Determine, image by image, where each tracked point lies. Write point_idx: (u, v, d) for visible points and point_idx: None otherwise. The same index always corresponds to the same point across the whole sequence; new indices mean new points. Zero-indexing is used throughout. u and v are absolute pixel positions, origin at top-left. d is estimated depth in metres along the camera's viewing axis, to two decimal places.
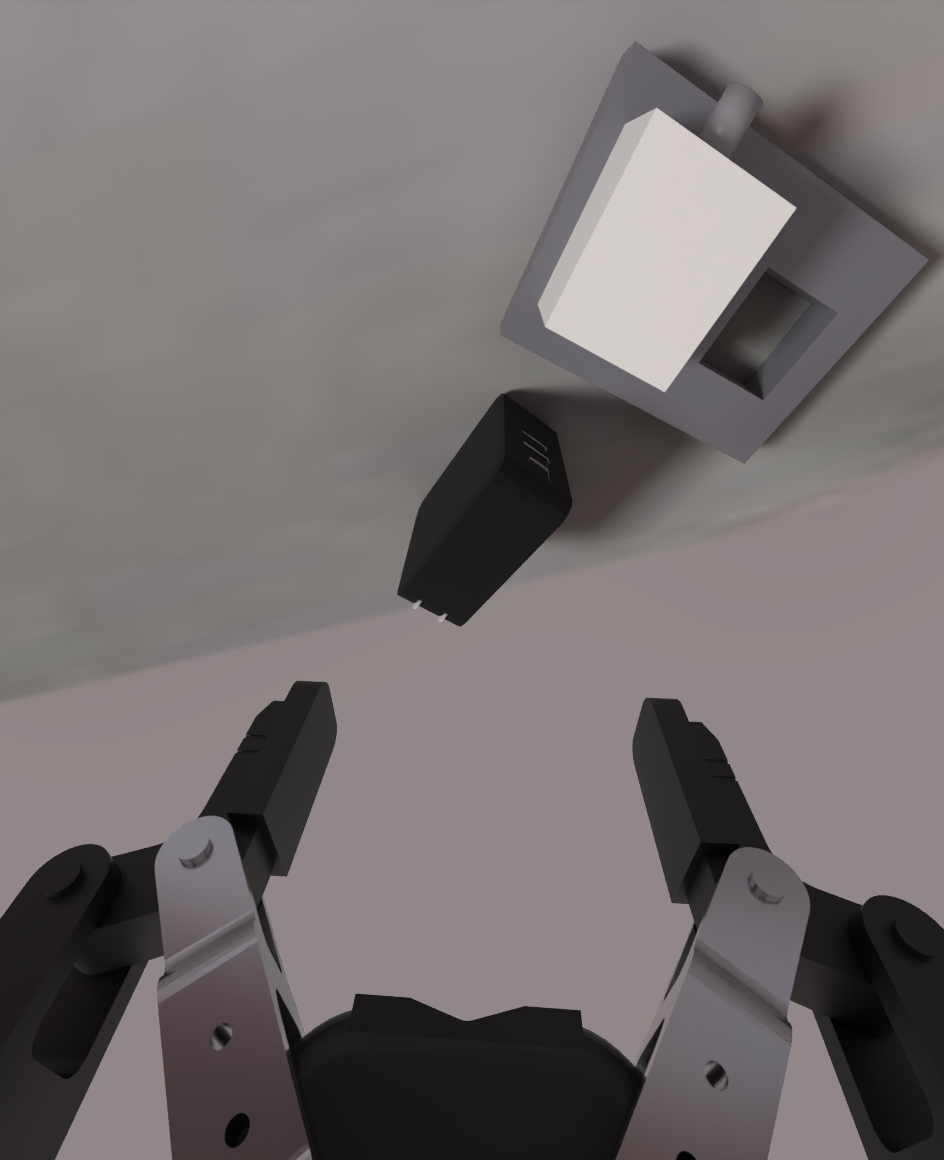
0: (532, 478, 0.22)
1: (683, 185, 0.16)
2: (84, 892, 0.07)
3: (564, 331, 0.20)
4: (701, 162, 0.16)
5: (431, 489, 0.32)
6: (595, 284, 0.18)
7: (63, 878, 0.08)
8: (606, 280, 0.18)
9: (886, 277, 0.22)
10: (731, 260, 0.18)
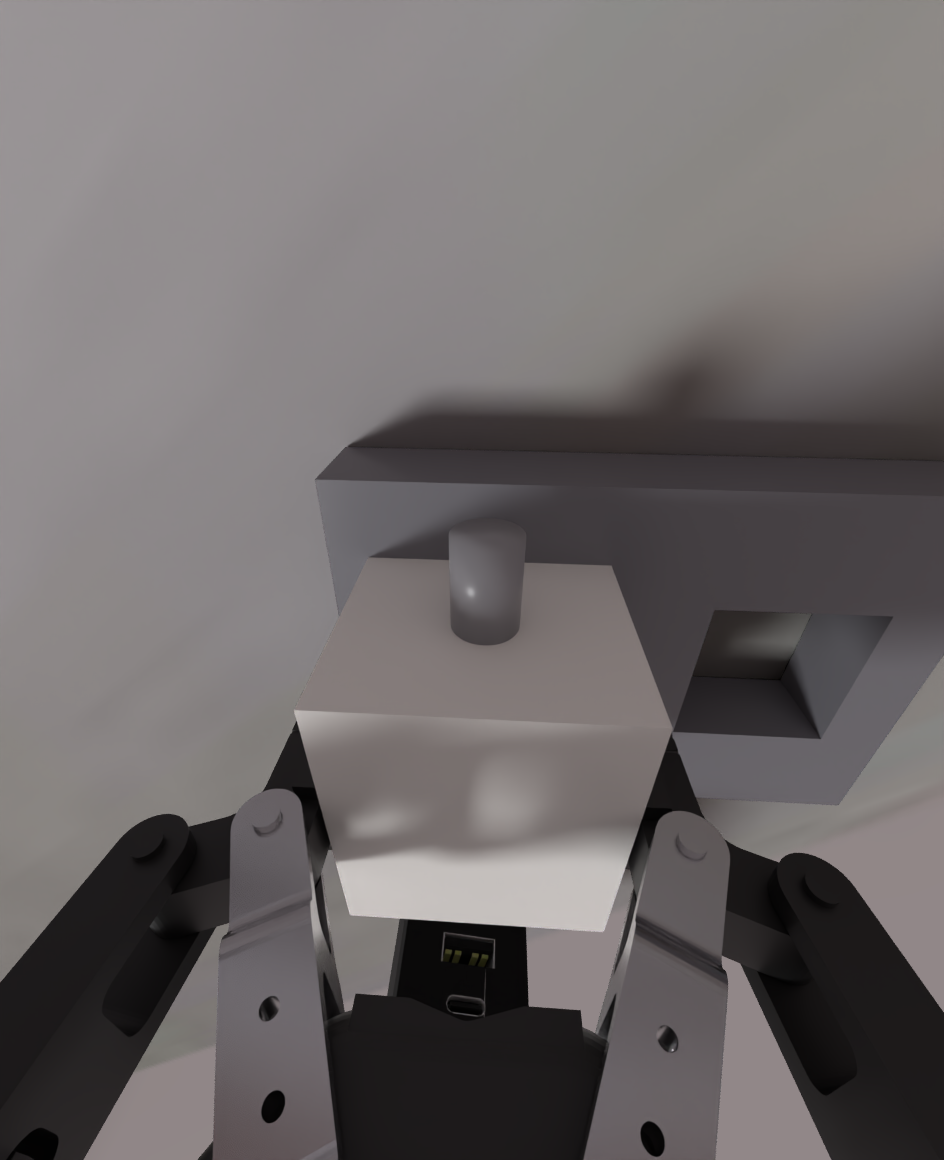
0: None
1: (423, 763, 0.08)
2: (168, 857, 0.08)
3: (382, 912, 0.11)
4: (430, 735, 0.08)
5: None
6: (383, 871, 0.10)
7: (147, 844, 0.08)
8: (396, 865, 0.10)
9: None
10: (594, 806, 0.09)
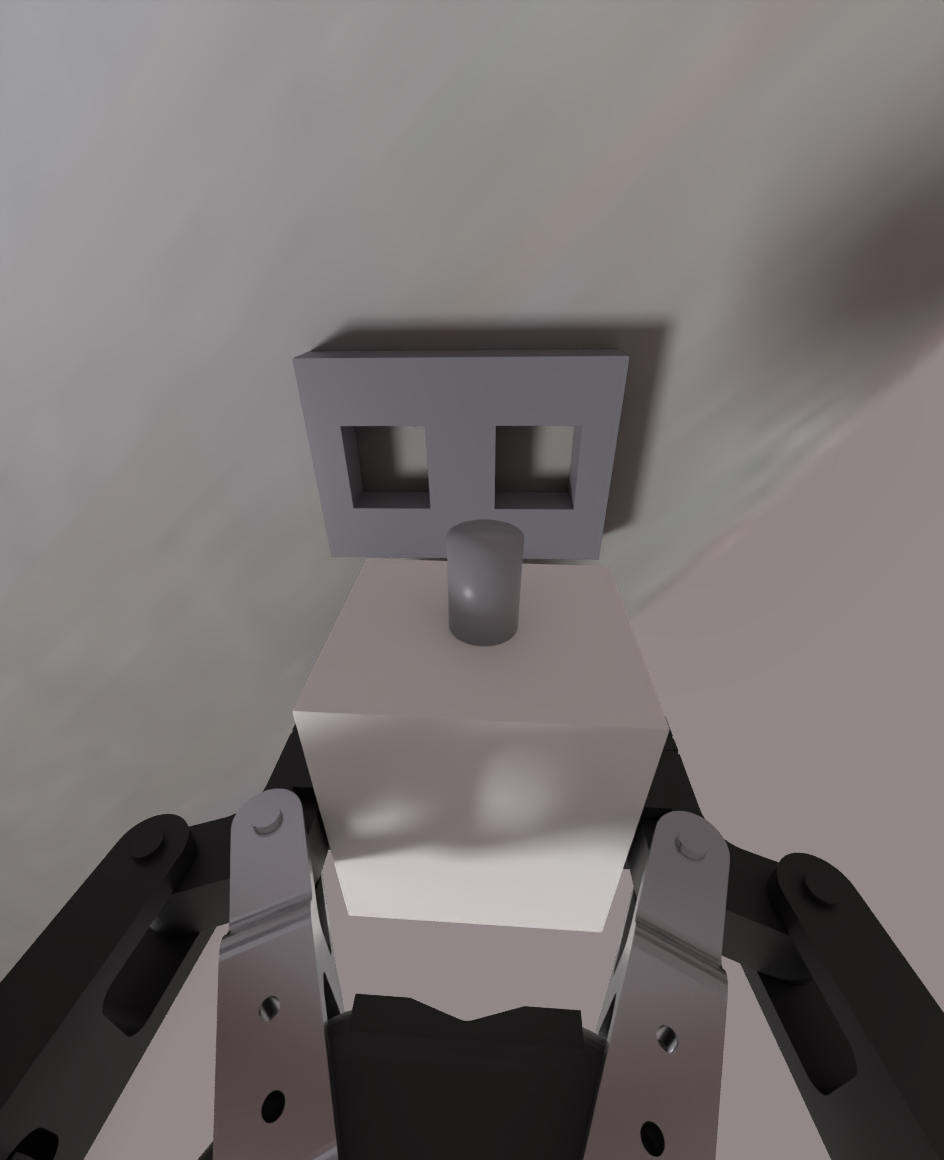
0: None
1: (421, 763, 0.08)
2: (168, 857, 0.08)
3: (381, 912, 0.11)
4: (428, 736, 0.08)
5: None
6: (381, 872, 0.10)
7: (147, 845, 0.08)
8: (394, 866, 0.10)
9: (602, 384, 0.23)
10: (592, 806, 0.09)
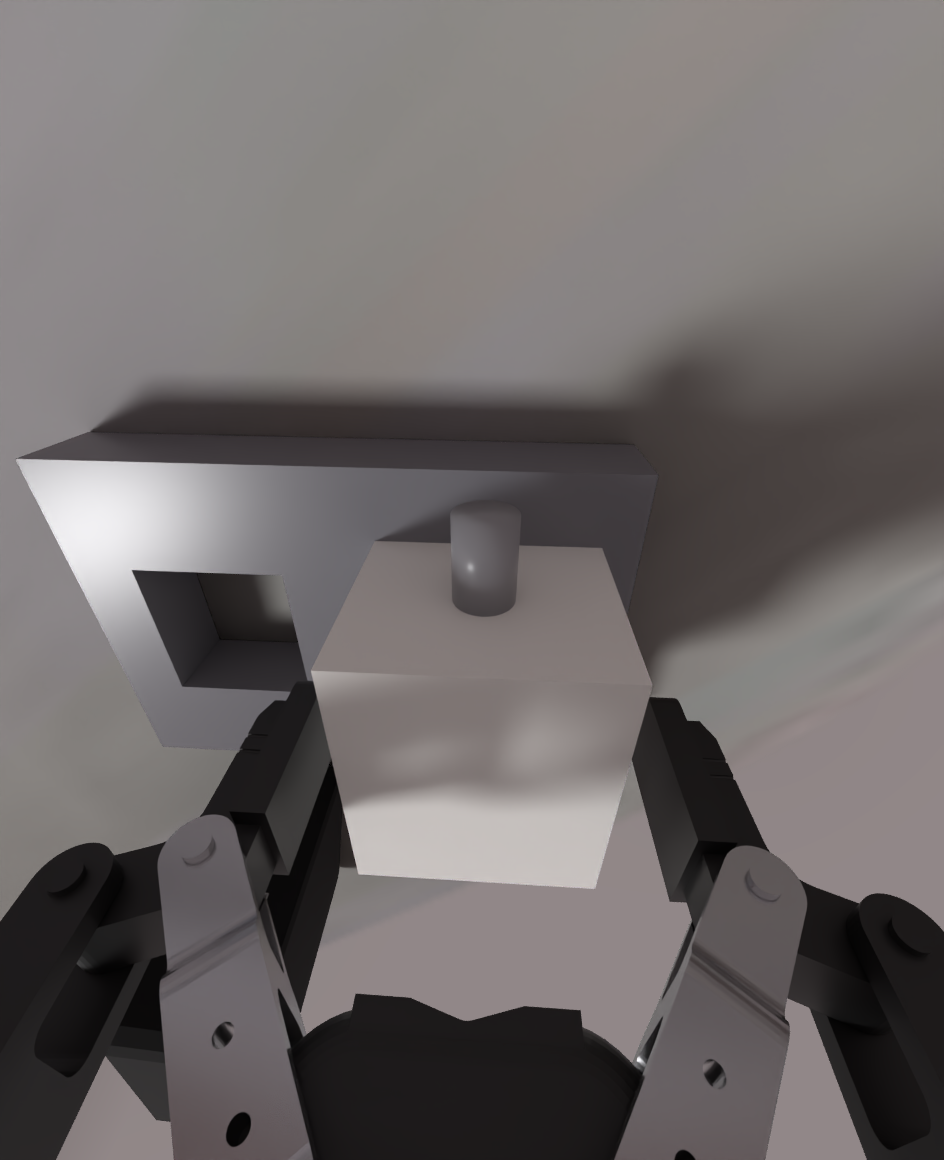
0: None
1: (428, 721, 0.09)
2: (87, 890, 0.08)
3: (389, 871, 0.12)
4: (434, 693, 0.09)
5: None
6: (389, 829, 0.11)
7: (66, 877, 0.08)
8: (401, 823, 0.11)
9: (605, 521, 0.12)
10: (583, 761, 0.09)
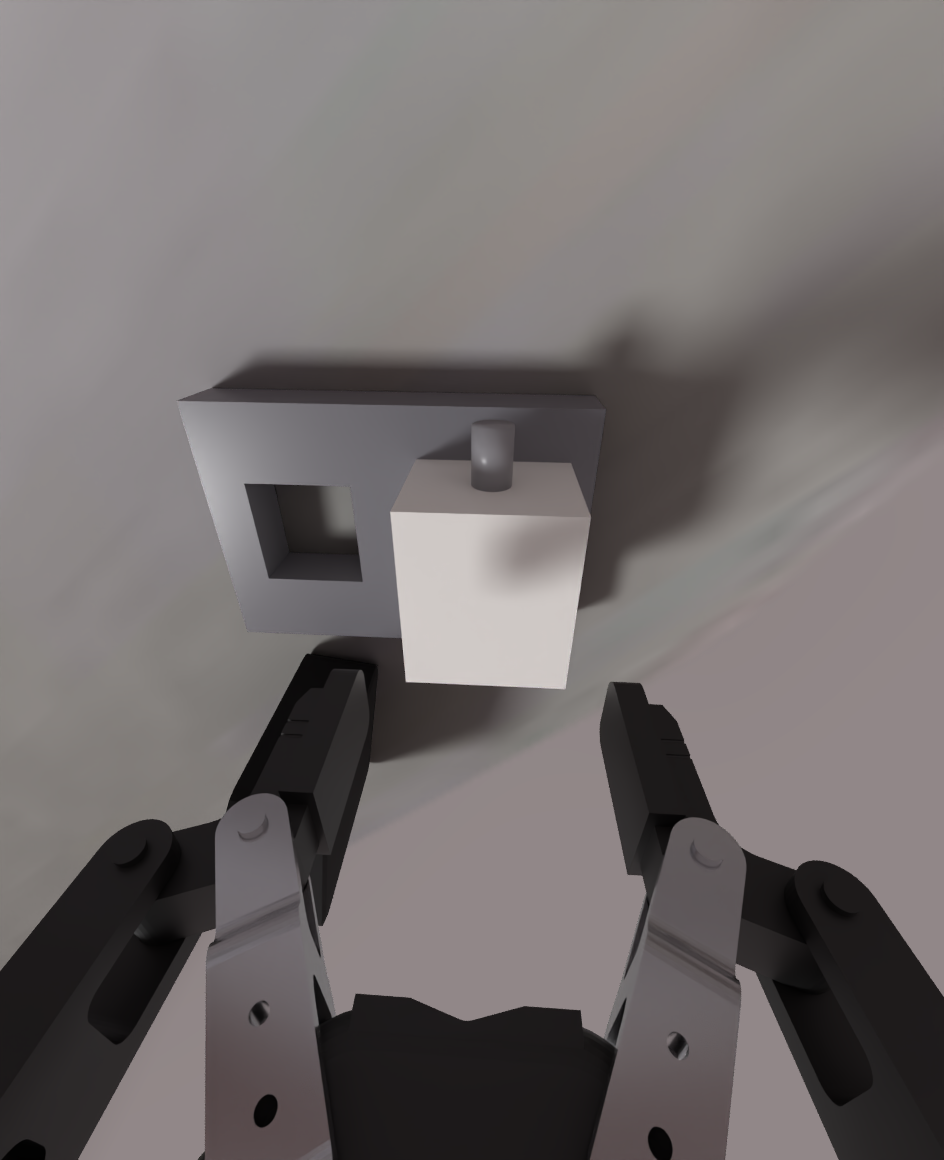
0: None
1: (458, 547, 0.15)
2: (151, 863, 0.08)
3: (426, 678, 0.18)
4: (462, 527, 0.15)
5: None
6: (430, 639, 0.17)
7: (130, 850, 0.08)
8: (437, 633, 0.17)
9: (572, 443, 0.18)
10: (553, 577, 0.15)
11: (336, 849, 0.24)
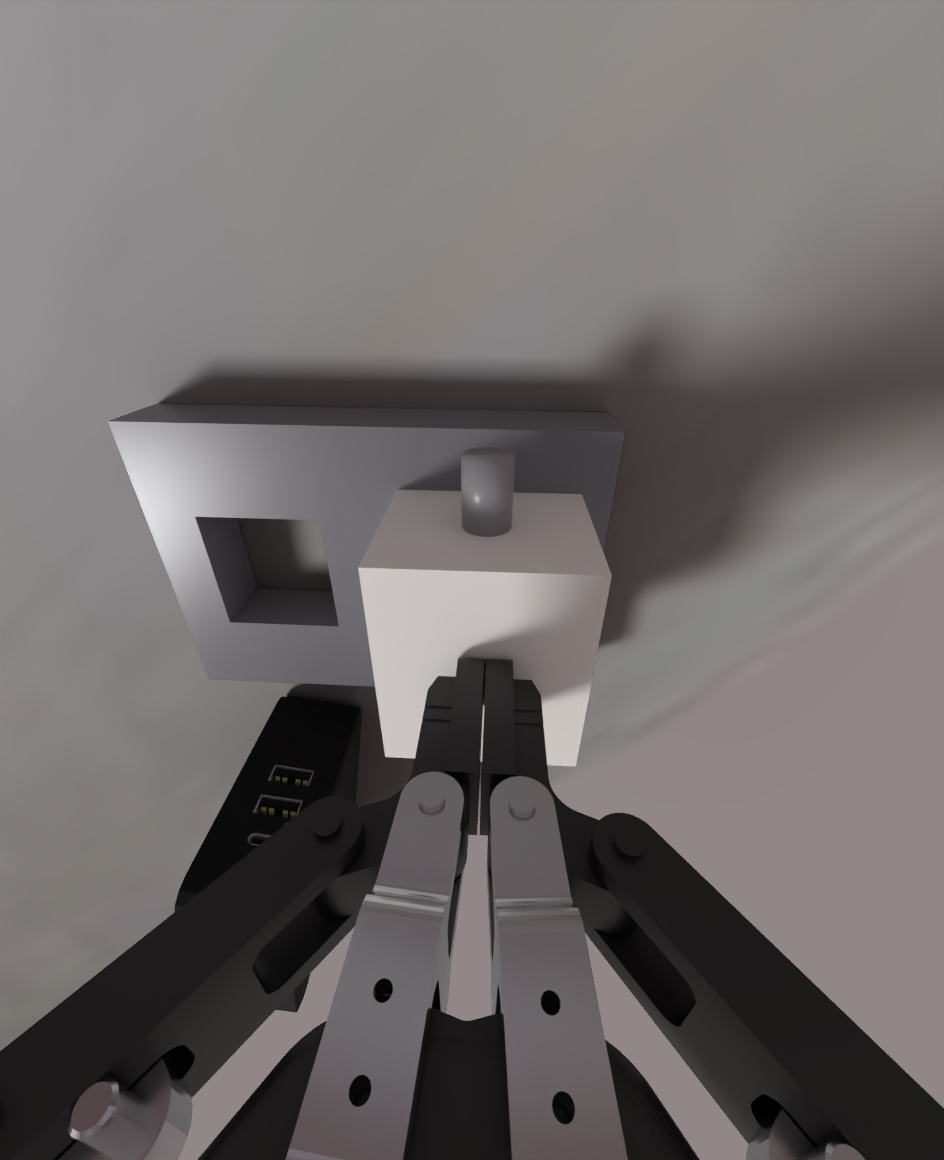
0: None
1: (444, 609, 0.12)
2: (348, 837, 0.08)
3: (410, 753, 0.15)
4: (450, 586, 0.12)
5: None
6: (412, 711, 0.14)
7: (327, 825, 0.08)
8: (421, 705, 0.14)
9: (583, 471, 0.15)
10: (562, 644, 0.12)
11: None
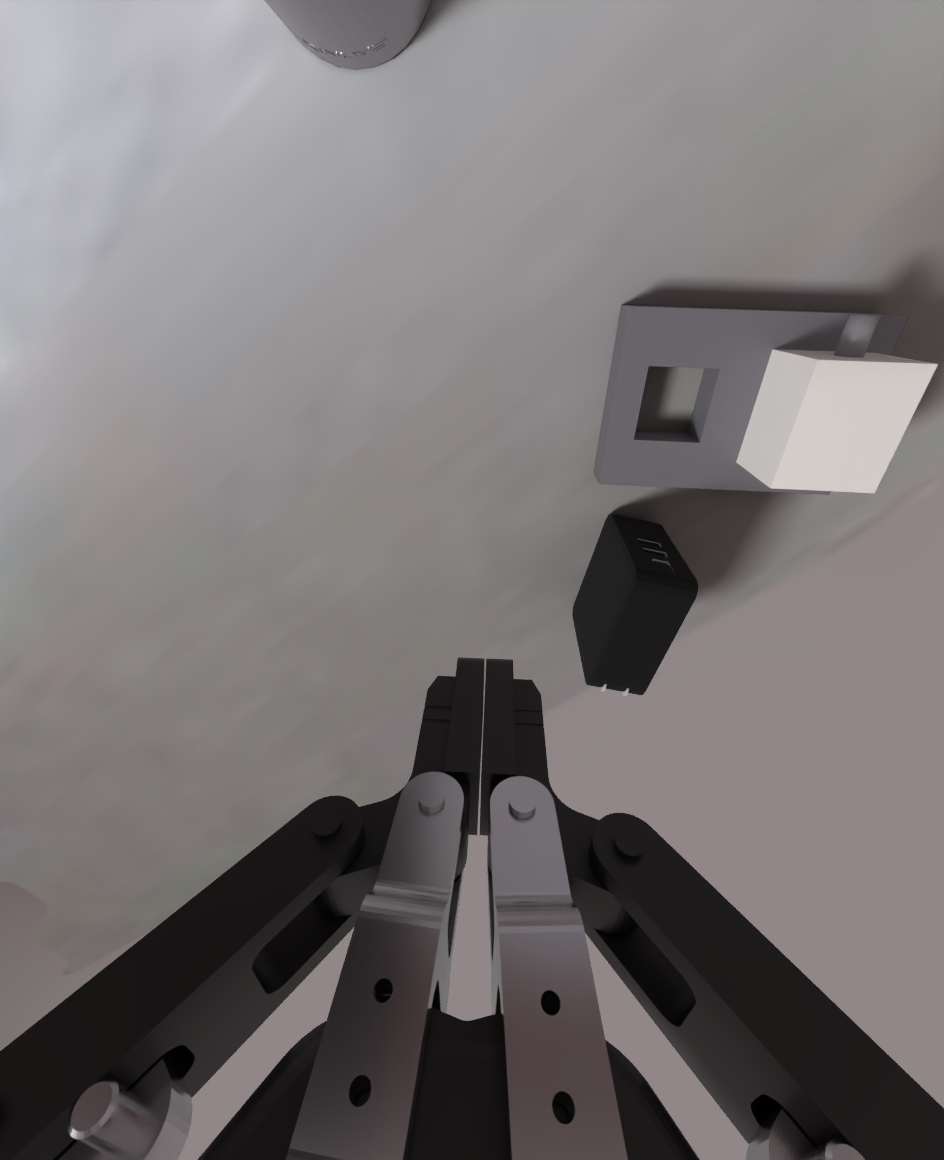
0: (661, 575, 0.30)
1: (849, 385, 0.25)
2: (348, 837, 0.08)
3: (785, 485, 0.28)
4: (858, 370, 0.25)
5: (577, 595, 0.41)
6: (801, 453, 0.27)
7: (326, 825, 0.08)
8: (808, 449, 0.27)
9: (879, 338, 0.28)
10: (899, 406, 0.26)
11: None
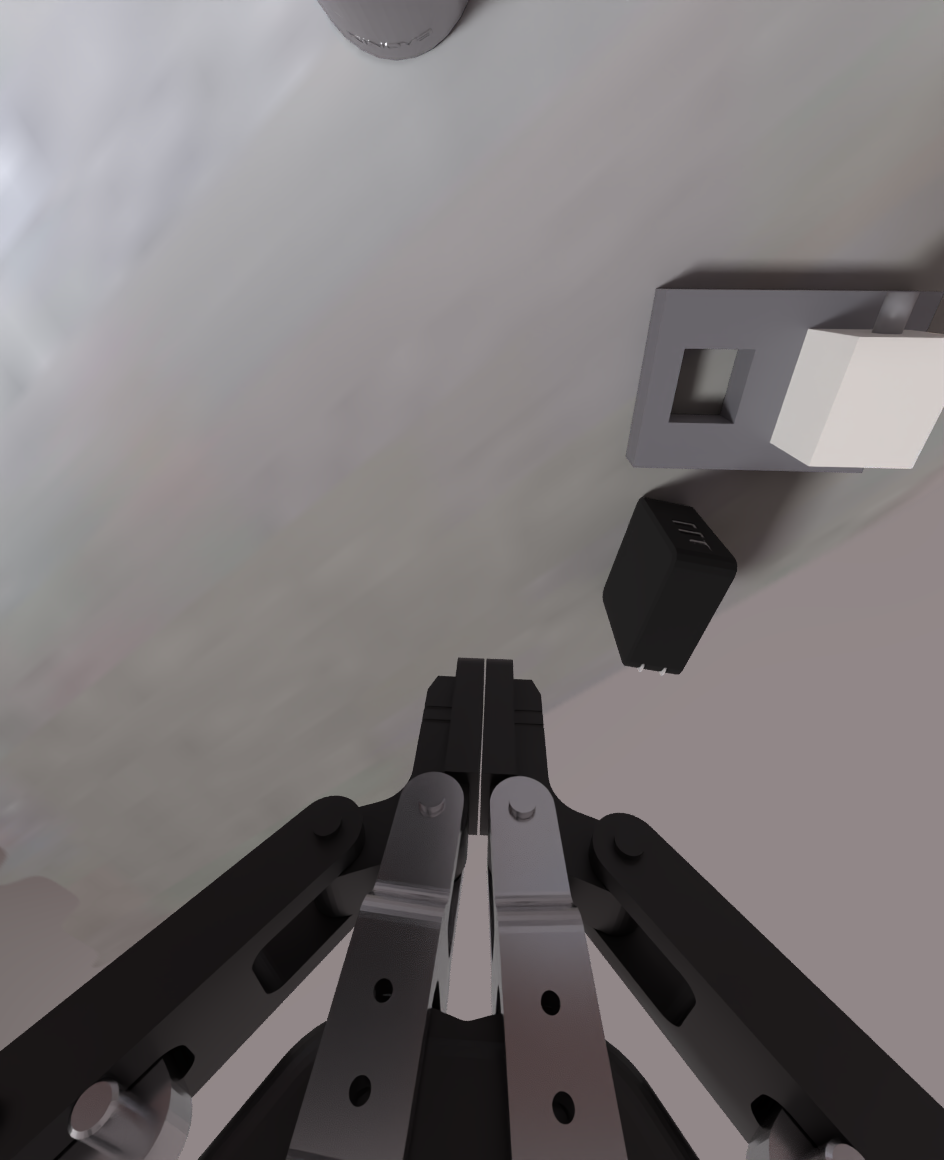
0: (700, 555, 0.30)
1: (889, 361, 0.26)
2: (348, 837, 0.08)
3: (823, 463, 0.29)
4: (898, 346, 0.25)
5: (608, 579, 0.42)
6: (840, 431, 0.28)
7: (326, 825, 0.08)
8: (847, 426, 0.28)
9: (914, 315, 0.29)
10: (939, 381, 0.26)
11: None
